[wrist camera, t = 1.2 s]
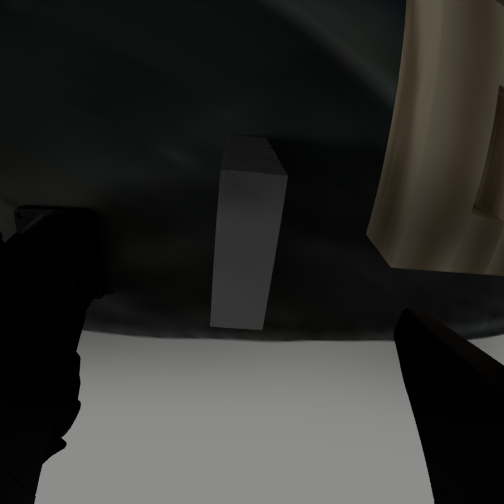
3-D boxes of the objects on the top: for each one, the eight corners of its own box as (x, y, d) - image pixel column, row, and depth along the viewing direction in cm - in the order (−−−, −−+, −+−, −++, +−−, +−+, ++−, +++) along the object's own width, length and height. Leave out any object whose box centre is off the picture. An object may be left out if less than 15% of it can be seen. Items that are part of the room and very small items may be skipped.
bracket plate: (219, 235, 19) (210, 326, 12) (228, 134, 16) (220, 169, 9) (253, 238, 19) (262, 329, 12) (266, 138, 16) (287, 176, 9)
